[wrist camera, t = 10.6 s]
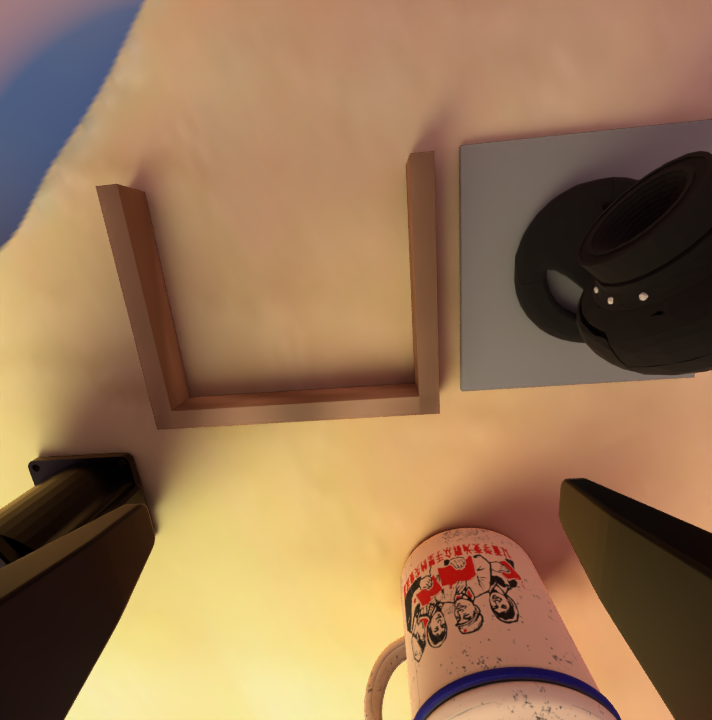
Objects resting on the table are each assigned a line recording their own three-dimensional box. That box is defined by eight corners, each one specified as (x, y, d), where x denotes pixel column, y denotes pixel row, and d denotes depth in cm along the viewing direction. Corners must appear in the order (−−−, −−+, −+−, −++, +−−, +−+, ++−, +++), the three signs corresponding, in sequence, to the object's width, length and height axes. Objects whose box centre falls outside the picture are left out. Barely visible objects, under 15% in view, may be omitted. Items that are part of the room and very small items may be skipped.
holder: (177, 414, 21) (157, 429, 19) (125, 193, 18) (95, 186, 16) (433, 398, 20) (439, 413, 18) (427, 163, 17) (434, 150, 15)
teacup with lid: (499, 498, 22) (634, 751, 11) (559, 601, 24) (726, 907, 13) (333, 573, 24) (298, 850, 13) (400, 662, 26) (421, 971, 15)
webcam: (592, 141, 16) (918, -32, 6) (706, 243, 17) (1138, 225, 7) (476, 284, 18) (594, 314, 8) (584, 368, 19) (803, 483, 9)
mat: (460, 388, 20) (461, 391, 20) (459, 148, 17) (461, 145, 16) (687, 374, 19) (694, 377, 19) (732, 119, 16) (740, 116, 16)
